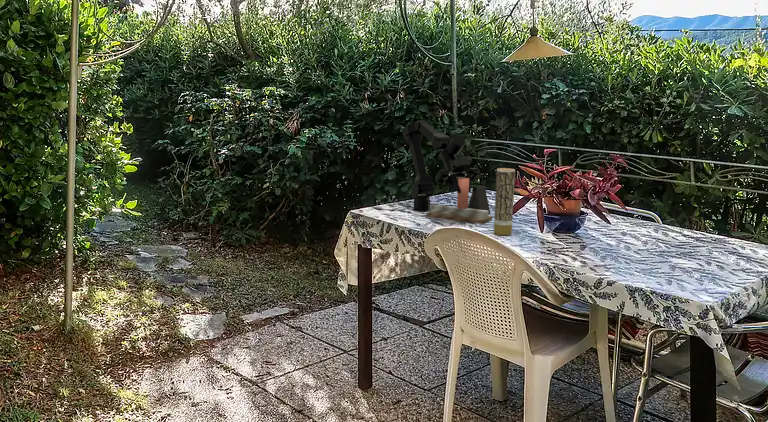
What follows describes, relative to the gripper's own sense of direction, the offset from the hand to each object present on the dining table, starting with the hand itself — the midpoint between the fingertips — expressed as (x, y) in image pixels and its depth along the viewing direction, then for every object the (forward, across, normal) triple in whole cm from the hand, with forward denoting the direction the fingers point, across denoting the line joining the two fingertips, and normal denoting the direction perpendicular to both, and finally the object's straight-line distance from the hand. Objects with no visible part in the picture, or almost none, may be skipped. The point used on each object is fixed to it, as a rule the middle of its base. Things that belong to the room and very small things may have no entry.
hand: (465, 192), depth 263 cm
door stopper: (-2, +20, +22) cm, 30 cm away
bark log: (+23, +5, -4) cm, 24 cm away
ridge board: (+2, +5, +18) cm, 18 cm away
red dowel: (+4, 0, +6) cm, 7 cm away
